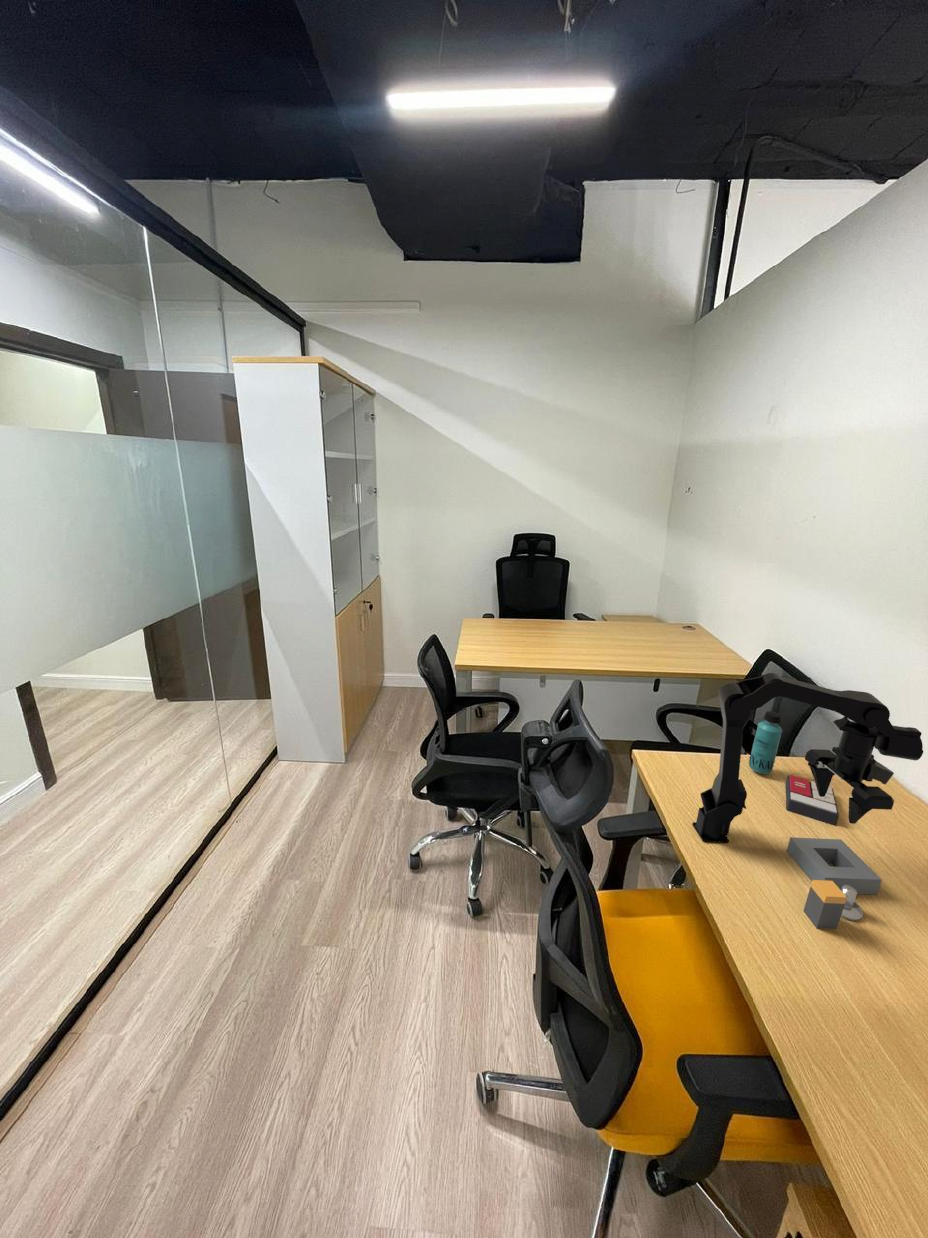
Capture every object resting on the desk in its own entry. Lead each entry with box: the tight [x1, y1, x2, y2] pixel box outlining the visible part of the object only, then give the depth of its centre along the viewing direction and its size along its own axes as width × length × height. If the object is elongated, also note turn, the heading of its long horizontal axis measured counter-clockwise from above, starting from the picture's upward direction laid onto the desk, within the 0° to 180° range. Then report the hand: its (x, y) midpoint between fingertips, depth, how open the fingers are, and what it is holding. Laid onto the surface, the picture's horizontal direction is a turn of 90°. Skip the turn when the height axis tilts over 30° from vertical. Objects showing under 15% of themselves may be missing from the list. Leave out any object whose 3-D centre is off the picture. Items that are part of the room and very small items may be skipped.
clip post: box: [841, 885, 864, 922], centre depth 100 cm, size 6×6×5 cm
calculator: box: [785, 774, 840, 827], centre depth 134 cm, size 11×4×15 cm
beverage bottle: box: [748, 710, 783, 775], centre depth 145 cm, size 6×7×20 cm
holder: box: [786, 836, 883, 895], centre depth 110 cm, size 12×12×4 cm
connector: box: [803, 880, 847, 930], centre depth 97 cm, size 4×4×8 cm
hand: (836, 809), depth 110 cm, fingers open, 9 cm apart
